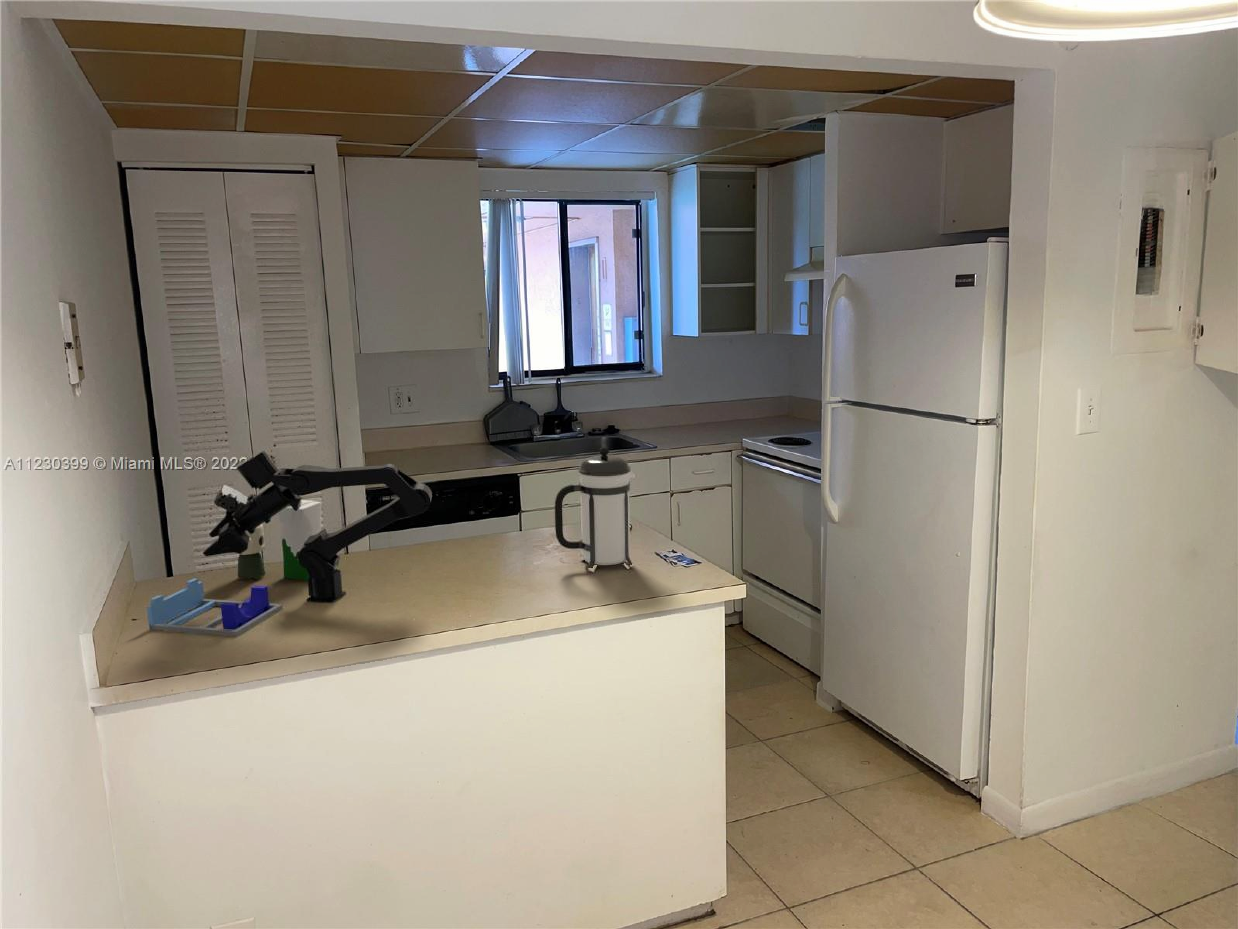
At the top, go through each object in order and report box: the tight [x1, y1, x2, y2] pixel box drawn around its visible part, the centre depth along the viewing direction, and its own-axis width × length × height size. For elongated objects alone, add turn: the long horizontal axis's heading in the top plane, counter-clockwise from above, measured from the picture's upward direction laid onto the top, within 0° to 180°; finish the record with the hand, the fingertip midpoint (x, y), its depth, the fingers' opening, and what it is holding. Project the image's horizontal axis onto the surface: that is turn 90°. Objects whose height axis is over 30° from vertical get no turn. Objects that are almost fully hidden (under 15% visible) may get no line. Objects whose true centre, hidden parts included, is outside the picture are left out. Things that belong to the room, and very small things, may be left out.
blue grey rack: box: [146, 578, 284, 637], centre depth 188 cm, size 20×16×6 cm
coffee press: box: [554, 446, 636, 569], centre depth 218 cm, size 17×16×30 cm
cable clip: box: [220, 584, 270, 630], centre depth 187 cm, size 12×4×6 cm, turn 169°
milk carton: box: [276, 495, 323, 581], centre depth 215 cm, size 9×9×20 cm
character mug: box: [233, 523, 266, 580], centre depth 215 cm, size 11×7×13 cm, turn 26°
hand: (207, 544), depth 195 cm, fingers open, 9 cm apart
